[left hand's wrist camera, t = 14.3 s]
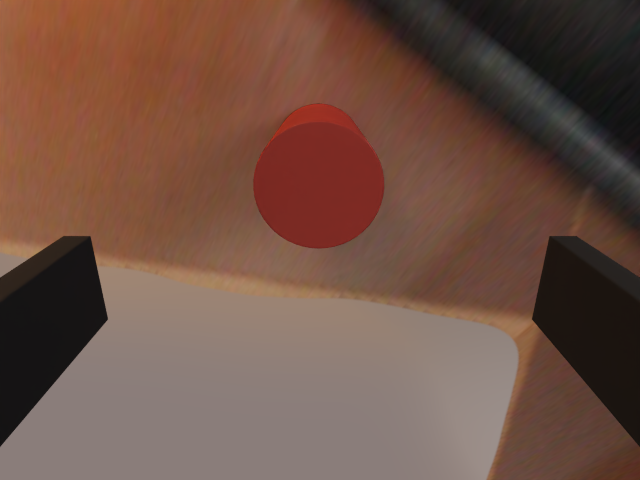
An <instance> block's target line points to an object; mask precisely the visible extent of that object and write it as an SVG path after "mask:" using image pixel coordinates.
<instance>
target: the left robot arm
mask: <svg viewBox="0 0 640 480" xmlns="http://www.w3.org/2000/svg"><path fill="white" fill-rule="evenodd" d="M107 320H108V317H107V312H106V308H105V303H104V298H103V293H102V289H101V284H100V279H99V275H98V270H97V265H96V260H95V256H94V251H93V246H92V242H91V237H90V236H63V237H62V238H60V239H59V240H57V241H56V242H54V243H52V244H51V245H49V246H48V247H46V248H45V249H43V250H42V251H40V252H39V253H37V254H36V255H34V256H33V257H31V258H30V259H28V260H27V261H25V262H23V263H22V264H20V265H19V266H17V267H16V268H14V269H13V270H11V271H10V272H8V273H7V274H5V275H4V276H2V277H0V446H1V445H2V444H3V443H4V442H5V440H6V439H7V438H8V437H9V436H10V435H11V433H12V432H13V431H14V430H15V429H16V427H17V426H18V425H19V424H20V423H21V422H22V420H23V419H24V418H25V417H26V416H27V414H28V413H29V412H30V411H31V410H32V409H33V407H34V406H35V405H36V404H37V403H38V401H39V400H40V399H41V398H42V397H43V396H44V394H45V393H46V392H47V391H48V390H49V388H50V387H51V386H52V385H53V384H54V382H55V381H56V380H57V379H58V378H59V377H60V375H61V374H62V373H63V372H64V371H65V369H66V368H67V367H68V366H69V365H70V364H71V362H72V361H73V360H74V359H75V358H76V356H77V355H78V354H79V353H80V352H81V351H82V349H83V348H84V347H85V346H86V345H87V343H88V342H89V341H90V340H91V339H92V338H93V336H94V335H95V334H96V333H97V332H98V330H99V329H100V328H101V327H102V326H103V324H104V323H105V322H106V321H107ZM532 320H533V321H534V322H535V323H536V325H537V326H538V327H539V328H540V329H541V330H542V332H543V333H544V334H545V335H546V336H547V338H548V339H549V340H550V341H551V342H552V343H553V345H554V346H555V347H556V348H557V349H558V351H559V352H560V353H561V354H562V355H563V356H564V358H565V359H566V360H567V361H568V362H569V364H570V365H571V366H572V367H573V368H574V369H575V371H576V372H577V373H578V374H579V375H580V377H581V378H582V379H583V380H584V381H585V383H586V384H587V385H588V386H589V387H590V388H591V390H592V391H593V392H594V393H595V394H596V396H597V397H598V398H599V399H600V400H601V401H602V403H603V404H604V405H605V406H606V407H607V409H608V410H609V411H610V412H611V413H612V414H613V416H614V417H615V418H616V419H617V420H618V422H619V423H620V424H621V425H622V426H623V427H624V429H625V430H626V431H627V432H628V433H629V435H630V436H631V437H632V438H633V439H634V440H635V442H636V443H637V444H638V445H639V446H640V277H638V276H636V275H635V274H633V273H632V272H630V271H629V270H627V269H626V268H624V267H623V266H621V265H620V264H618V263H617V262H615V261H614V260H612V259H610V258H609V257H607V256H606V255H604V254H603V253H601V252H600V251H598V250H597V249H595V248H594V247H592V246H591V245H589V244H588V243H586V242H584V241H583V240H581V239H580V238H578V237H577V236H550V237H549V242H548V246H547V251H546V256H545V260H544V265H543V270H542V275H541V279H540V284H539V289H538V293H537V298H536V303H535V308H534V312H533V317H532Z"/></svg>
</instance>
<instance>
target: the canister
mask: <svg viewBox="0 0 640 480" xmlns="http://www.w3.org/2000/svg"><path fill="white" fill-rule="evenodd" d="M383 192H384V177H383V170H382V167H381V164H380V161H379V159H378V157H377V155H376V153H375V151H374V150H373V148H372V147H371V145H370V144H369V143H368V141H367V140H366V138H365V137H364V136H363V134H362V133H361V131H360V130H359V129H358V127H357V126H356V124H355V123H354V122H353V120H352V119H351V118H350V117H349V116H348V115H347V114H346V113H344V112H343V111H342V110H340V109H338V108H336V107H333V106H331V105H326V104H311V105H307V106H304V107H301V108H299V109H298V110H296V111H294V112H293V113H292V114H291V115H289V116H288V117H287V119H286V120H285V121H284V122H283V124H282V125H281V126H280V128H279V129H278V131H277V132H276V133H275V135H274V136H273V138H272V139H271V140H270V142H269V143H268V145H267V146H266V147H265V149H264V151H263V152H262V154H261V156H260V158H259V160H258V162H257V165H256V169H255V173H254V196H255V200H256V204H257V206H258V209H259V211H260V213H261V215H262V217H263V218H264V220H265V221H266V223H267V224H268V225H269V226H270V227H271V228H272V229H273V230H274V231H275V232H276V233H277V234H278V235H280V236H281V237H283V238H284V239H286V240H287V241H290V242H292V243H294V244H297V245H300V246H303V247H309V248H329V247H334V246H338V245H341V244H344V243H346V242H348V241H350V240H352V239H353V238H355V237H357V236H358V235H359V234H360V233H362V232H363V231H364V230H365V229H366V228H367V227H368V226H369V225H370V223H371V222H372V221H373V219H374V218H375V216H376V214H377V212H378V210H379V208H380V205H381V202H382V198H383Z"/></svg>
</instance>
